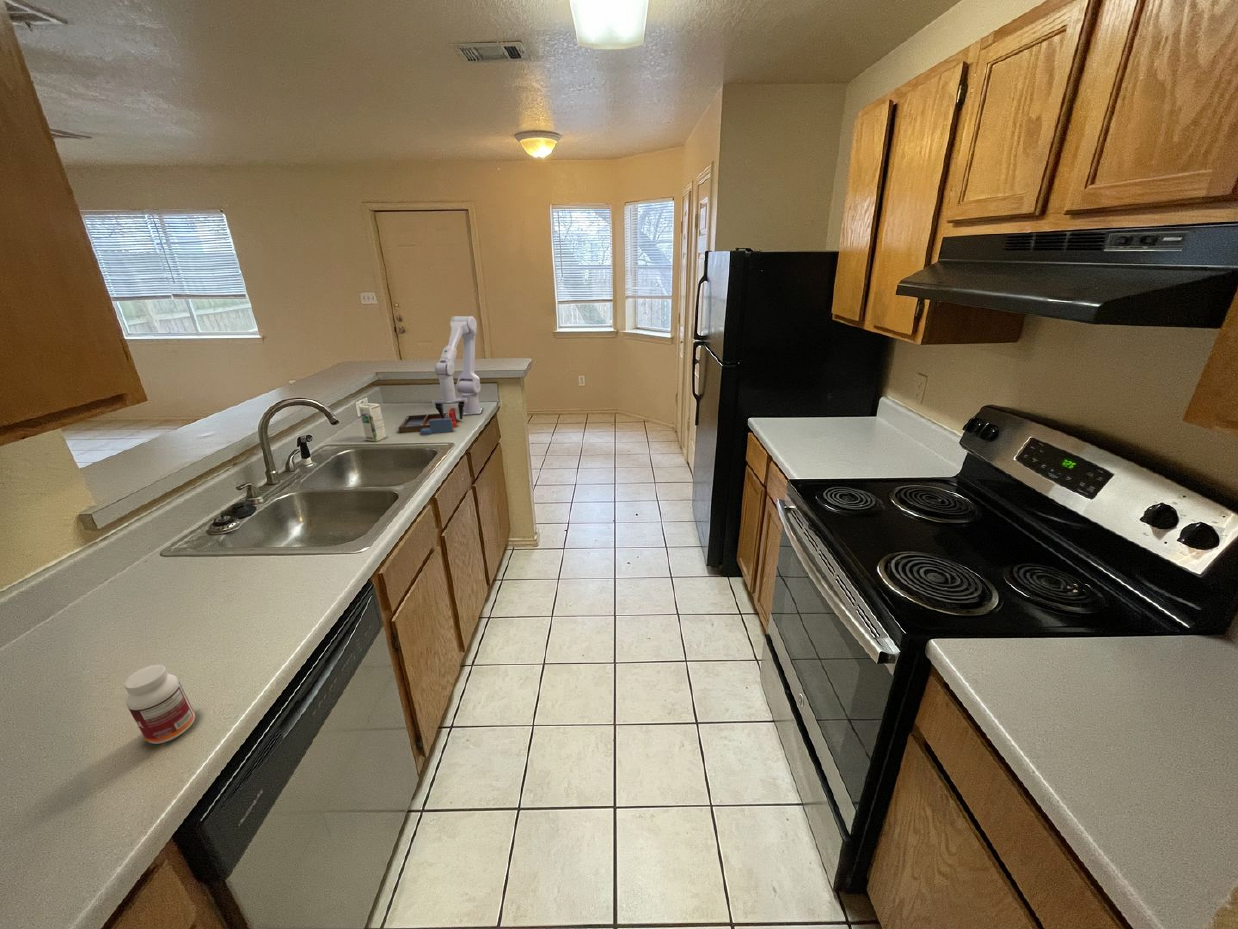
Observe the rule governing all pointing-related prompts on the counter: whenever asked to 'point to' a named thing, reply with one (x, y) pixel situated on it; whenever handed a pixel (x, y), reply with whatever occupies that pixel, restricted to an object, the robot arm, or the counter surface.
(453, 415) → the red spoon
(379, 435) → the syrup box
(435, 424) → the blue spoon
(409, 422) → the sorting tray
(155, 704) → the pill bottle
